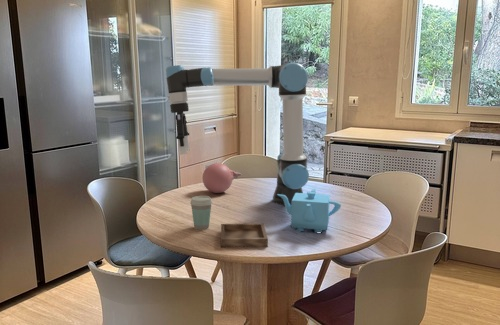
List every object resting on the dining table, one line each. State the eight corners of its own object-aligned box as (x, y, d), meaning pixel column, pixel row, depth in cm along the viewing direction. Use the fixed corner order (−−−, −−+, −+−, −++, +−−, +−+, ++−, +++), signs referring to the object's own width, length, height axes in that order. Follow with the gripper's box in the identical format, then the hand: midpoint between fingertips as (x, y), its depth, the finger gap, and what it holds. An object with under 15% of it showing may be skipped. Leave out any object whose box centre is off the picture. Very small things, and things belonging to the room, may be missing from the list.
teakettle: (343, 231, 171) (345, 194, 168) (305, 240, 161) (307, 201, 158) (311, 217, 187) (312, 184, 184) (275, 225, 177) (276, 190, 174)
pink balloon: (242, 196, 219) (242, 166, 216) (201, 196, 218) (201, 166, 215) (240, 188, 234) (241, 160, 231) (203, 188, 233) (203, 160, 230)
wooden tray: (263, 230, 170) (263, 223, 169) (267, 246, 154) (267, 238, 153) (221, 231, 169) (221, 223, 168) (221, 247, 153) (221, 239, 152)
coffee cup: (216, 227, 173) (216, 198, 171) (200, 232, 167) (200, 202, 165) (202, 222, 179) (202, 194, 177) (186, 227, 173) (185, 198, 171)
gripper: (173, 103, 198) (179, 150, 201) (165, 103, 173) (172, 156, 176) (190, 101, 198) (195, 148, 201) (184, 101, 173) (191, 154, 176)
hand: (185, 152), depth 188 cm, fingers open, 13 cm apart
